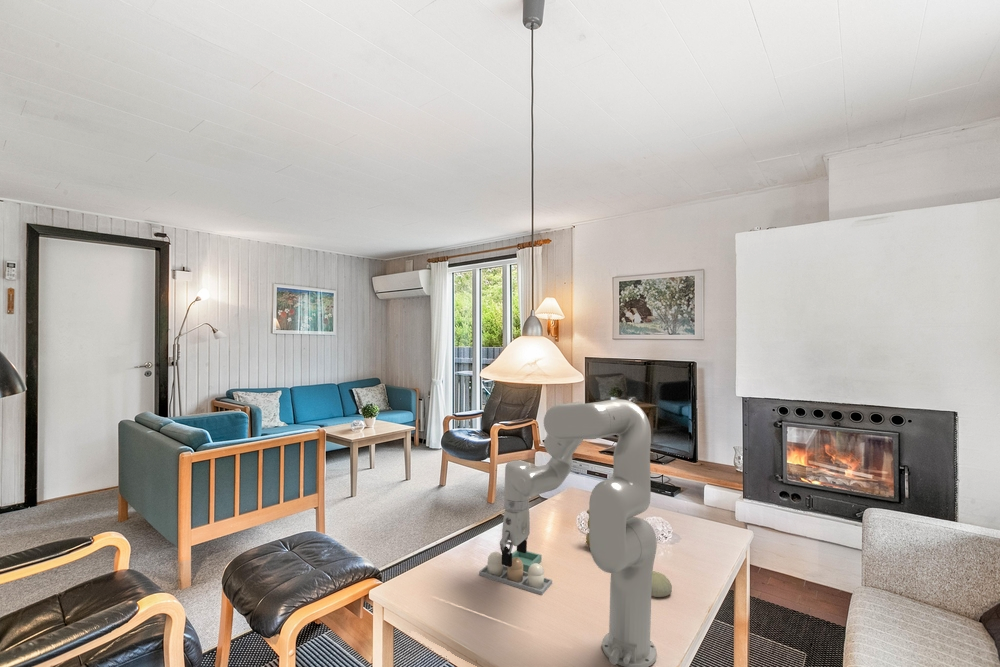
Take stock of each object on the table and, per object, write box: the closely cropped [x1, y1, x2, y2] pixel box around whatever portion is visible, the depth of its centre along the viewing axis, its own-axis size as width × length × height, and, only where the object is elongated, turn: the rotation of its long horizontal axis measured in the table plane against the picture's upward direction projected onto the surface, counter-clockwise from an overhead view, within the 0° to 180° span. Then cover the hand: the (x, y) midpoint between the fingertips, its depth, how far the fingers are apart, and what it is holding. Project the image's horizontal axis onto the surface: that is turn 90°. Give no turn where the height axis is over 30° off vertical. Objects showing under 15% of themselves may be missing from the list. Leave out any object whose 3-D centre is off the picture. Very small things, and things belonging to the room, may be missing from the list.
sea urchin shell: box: [651, 571, 673, 598], centre depth 142 cm, size 9×8×8 cm
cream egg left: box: [487, 551, 503, 577], centre depth 149 cm, size 5×5×6 cm
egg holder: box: [511, 549, 543, 573], centre depth 155 cm, size 9×9×3 cm
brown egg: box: [507, 557, 523, 583], centre depth 146 cm, size 5×5×6 cm
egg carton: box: [478, 564, 553, 596], centre depth 146 cm, size 7×21×2 cm, turn 61°
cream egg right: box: [527, 563, 545, 590], centre depth 142 cm, size 5×5×6 cm
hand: (514, 558), depth 146 cm, fingers open, 9 cm apart
